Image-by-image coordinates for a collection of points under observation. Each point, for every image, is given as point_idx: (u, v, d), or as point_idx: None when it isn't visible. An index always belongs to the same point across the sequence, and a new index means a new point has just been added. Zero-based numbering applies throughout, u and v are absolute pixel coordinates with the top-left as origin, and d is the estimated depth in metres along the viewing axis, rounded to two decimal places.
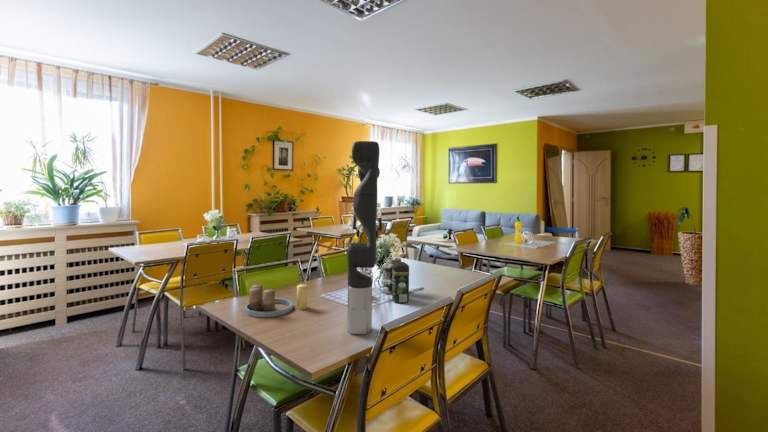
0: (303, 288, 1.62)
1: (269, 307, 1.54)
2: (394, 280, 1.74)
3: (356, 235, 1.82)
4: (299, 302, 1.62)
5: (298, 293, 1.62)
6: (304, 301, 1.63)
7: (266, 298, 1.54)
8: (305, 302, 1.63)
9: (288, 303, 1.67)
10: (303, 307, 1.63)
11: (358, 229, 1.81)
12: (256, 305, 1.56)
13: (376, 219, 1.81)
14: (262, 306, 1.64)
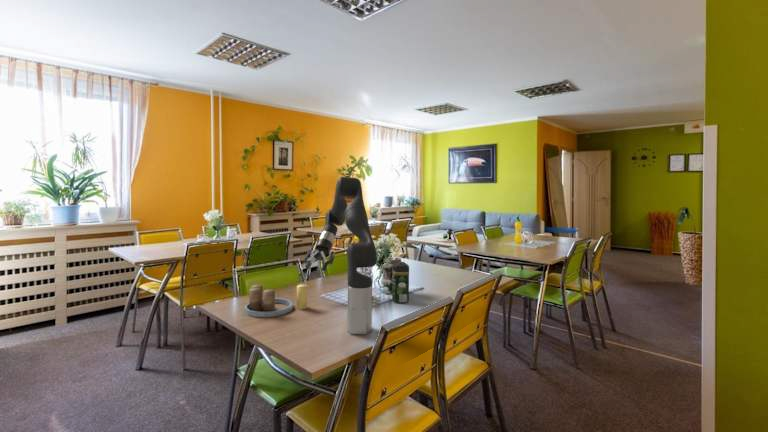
0: (303, 288, 1.62)
1: (269, 307, 1.54)
2: (394, 280, 1.74)
3: (305, 265, 1.77)
4: (299, 302, 1.62)
5: (298, 293, 1.62)
6: (304, 301, 1.63)
7: (266, 298, 1.54)
8: (305, 302, 1.63)
9: (288, 303, 1.67)
10: (303, 307, 1.63)
11: (308, 259, 1.78)
12: (256, 305, 1.56)
13: (329, 253, 1.79)
14: (262, 306, 1.64)
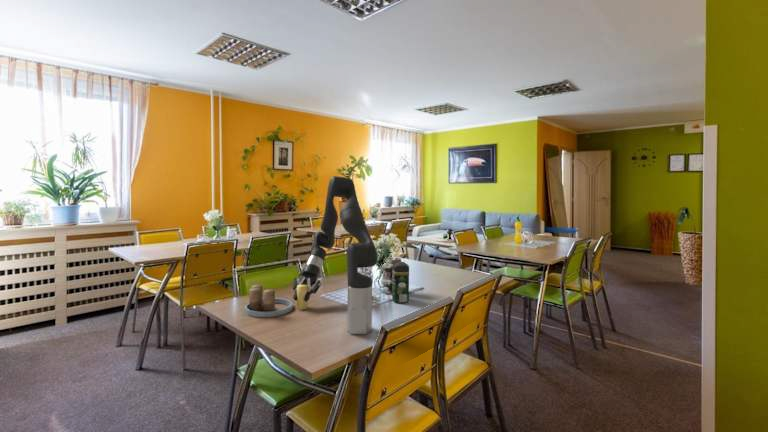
0: (303, 288, 1.62)
1: (269, 307, 1.54)
2: (394, 280, 1.74)
3: None
4: (299, 302, 1.62)
5: (298, 293, 1.62)
6: (304, 301, 1.63)
7: (266, 298, 1.54)
8: (305, 302, 1.63)
9: (288, 303, 1.67)
10: (303, 307, 1.63)
11: None
12: (256, 305, 1.56)
13: (316, 281, 1.67)
14: (262, 306, 1.64)
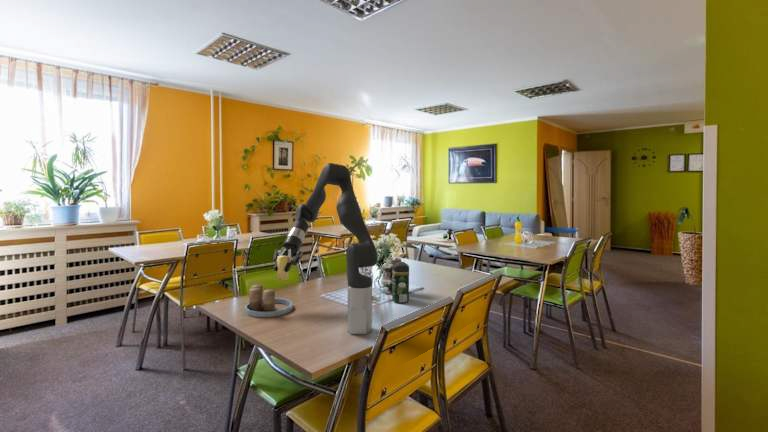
0: (283, 258, 1.60)
1: (269, 307, 1.54)
2: (394, 280, 1.74)
3: None
4: (279, 273, 1.61)
5: (278, 263, 1.61)
6: (284, 272, 1.61)
7: (266, 298, 1.54)
8: (286, 273, 1.61)
9: (288, 303, 1.67)
10: (283, 278, 1.61)
11: None
12: (256, 305, 1.56)
13: (297, 252, 1.66)
14: (262, 306, 1.64)
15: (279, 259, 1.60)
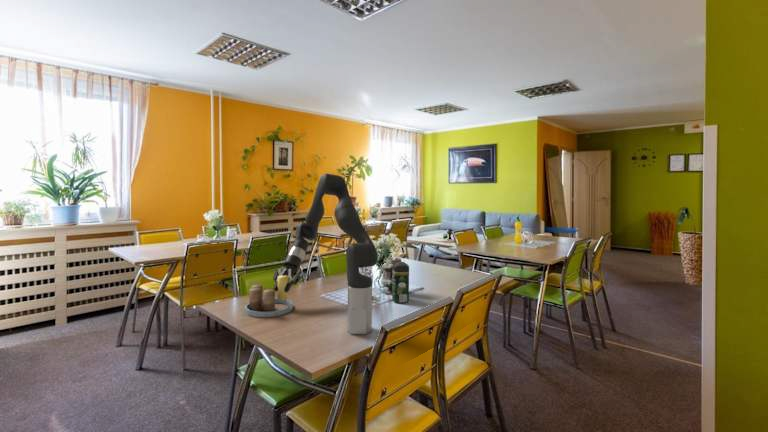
0: (283, 279, 1.61)
1: (269, 307, 1.54)
2: (394, 280, 1.74)
3: None
4: (279, 293, 1.61)
5: (278, 284, 1.61)
6: (284, 292, 1.62)
7: (266, 298, 1.54)
8: (286, 293, 1.62)
9: (288, 303, 1.67)
10: (284, 298, 1.62)
11: None
12: (256, 305, 1.56)
13: (297, 272, 1.66)
14: (262, 306, 1.64)
15: (279, 279, 1.61)
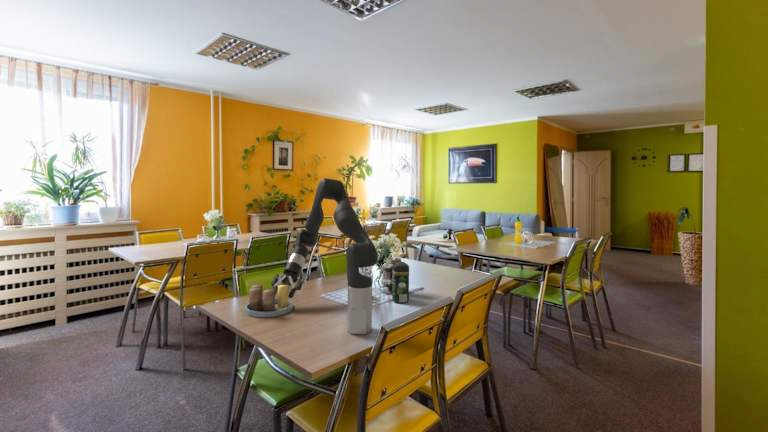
0: (284, 288, 1.61)
1: (269, 307, 1.54)
2: (394, 280, 1.74)
3: None
4: (280, 302, 1.62)
5: (279, 293, 1.62)
6: (285, 301, 1.62)
7: (266, 298, 1.54)
8: (286, 302, 1.62)
9: None
10: (284, 307, 1.62)
11: (275, 285, 1.65)
12: (256, 305, 1.56)
13: (297, 278, 1.67)
14: (262, 306, 1.64)
15: (279, 289, 1.61)
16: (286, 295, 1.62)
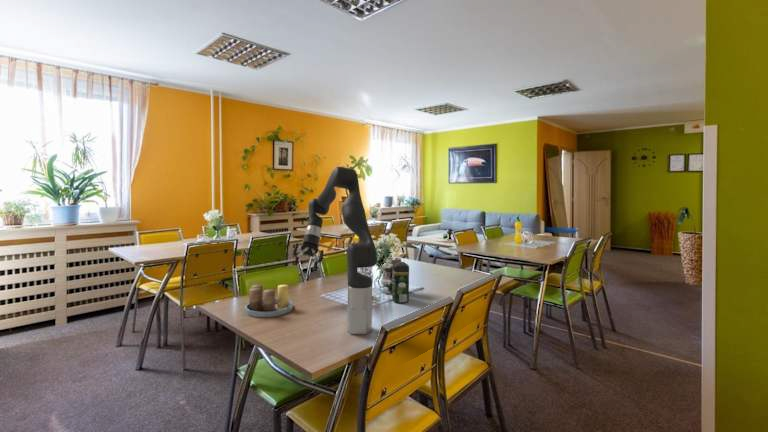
0: (284, 288, 1.61)
1: (269, 307, 1.54)
2: (394, 280, 1.74)
3: (295, 262, 1.73)
4: (280, 302, 1.62)
5: (279, 293, 1.62)
6: (285, 301, 1.62)
7: (266, 298, 1.54)
8: (286, 302, 1.62)
9: None
10: (284, 307, 1.62)
11: (298, 256, 1.74)
12: (256, 305, 1.56)
13: (318, 251, 1.80)
14: (262, 306, 1.64)
15: (279, 289, 1.61)
16: (286, 295, 1.62)
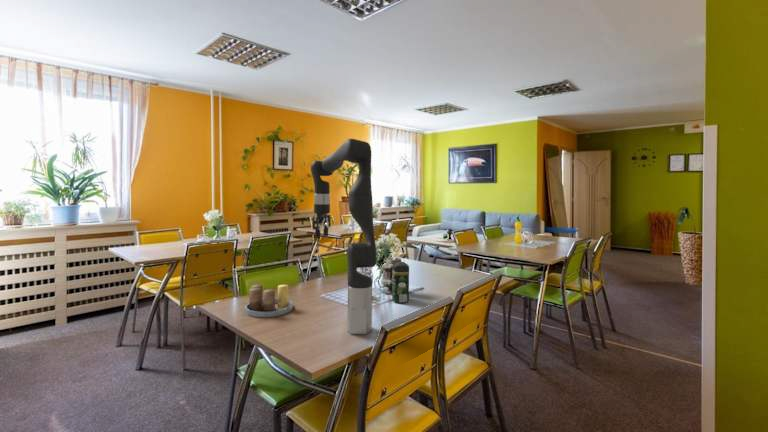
0: (284, 288, 1.61)
1: (269, 307, 1.54)
2: (394, 280, 1.74)
3: (318, 235, 1.71)
4: (280, 302, 1.62)
5: (279, 293, 1.62)
6: (285, 301, 1.62)
7: (266, 298, 1.54)
8: (286, 302, 1.62)
9: None
10: (284, 307, 1.62)
11: None
12: (256, 305, 1.56)
13: (326, 216, 1.80)
14: (262, 306, 1.64)
15: (279, 289, 1.61)
16: (286, 295, 1.62)
